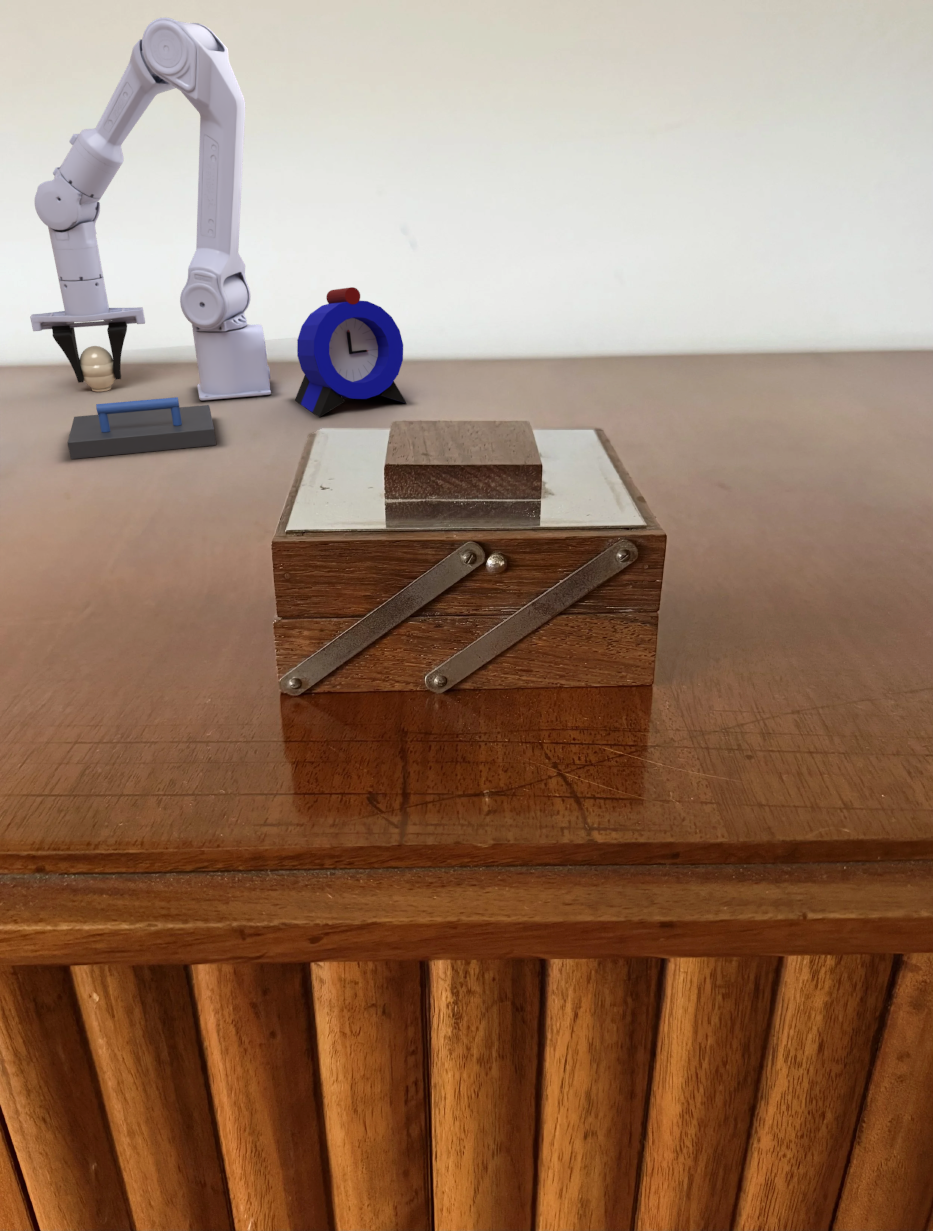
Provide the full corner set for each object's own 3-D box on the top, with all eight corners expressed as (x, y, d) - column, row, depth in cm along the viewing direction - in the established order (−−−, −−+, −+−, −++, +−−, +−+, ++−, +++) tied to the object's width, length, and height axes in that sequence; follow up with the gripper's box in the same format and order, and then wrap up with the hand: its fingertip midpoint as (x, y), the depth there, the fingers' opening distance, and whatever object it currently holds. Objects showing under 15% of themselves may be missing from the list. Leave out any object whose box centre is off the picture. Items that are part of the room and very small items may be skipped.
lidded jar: (118, 384, 141) (110, 341, 139) (117, 391, 138) (109, 348, 135) (86, 386, 140) (77, 344, 138) (84, 394, 137) (75, 350, 134)
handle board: (211, 420, 124) (205, 378, 122) (216, 445, 114) (210, 400, 112) (77, 432, 120) (68, 390, 118) (70, 459, 111) (61, 413, 108)
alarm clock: (321, 418, 124) (310, 294, 117) (289, 396, 133) (278, 280, 127) (409, 405, 129) (404, 285, 122) (373, 384, 138) (366, 272, 132)
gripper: (137, 270, 137) (153, 368, 144) (26, 276, 134) (47, 376, 140) (137, 277, 131) (153, 379, 138) (20, 284, 128) (43, 388, 134)
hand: (100, 379), depth 138 cm, fingers closed on lidded jar, 4 cm apart
